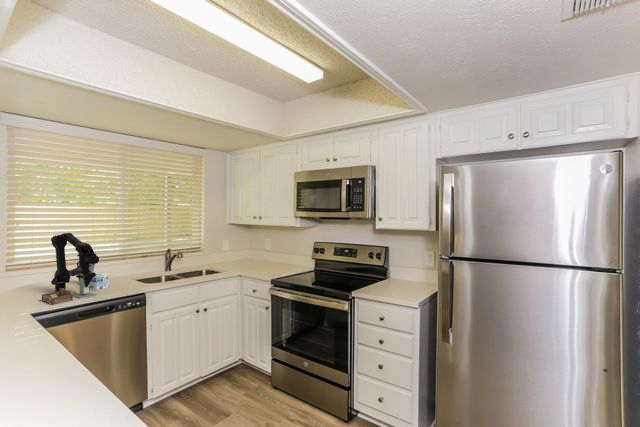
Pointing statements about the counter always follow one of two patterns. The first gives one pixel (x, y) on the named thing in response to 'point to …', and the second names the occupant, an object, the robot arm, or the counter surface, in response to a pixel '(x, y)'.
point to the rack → (62, 295)
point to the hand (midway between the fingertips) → (84, 286)
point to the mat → (84, 295)
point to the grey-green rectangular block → (83, 287)
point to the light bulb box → (99, 281)
